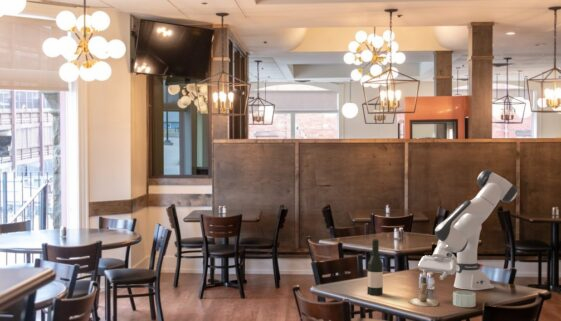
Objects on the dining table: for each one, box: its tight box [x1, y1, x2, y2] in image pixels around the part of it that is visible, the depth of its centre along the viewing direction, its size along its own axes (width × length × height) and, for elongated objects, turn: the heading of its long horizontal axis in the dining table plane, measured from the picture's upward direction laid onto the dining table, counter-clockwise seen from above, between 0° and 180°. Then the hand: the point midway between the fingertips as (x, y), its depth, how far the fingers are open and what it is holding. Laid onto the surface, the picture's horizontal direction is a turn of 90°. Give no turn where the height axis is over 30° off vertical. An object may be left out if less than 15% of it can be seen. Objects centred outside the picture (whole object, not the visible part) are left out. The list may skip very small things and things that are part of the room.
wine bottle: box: [366, 238, 384, 297], centre depth 368 cm, size 8×8×30 cm
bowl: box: [452, 290, 477, 308], centre depth 344 cm, size 11×11×6 cm
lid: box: [408, 283, 439, 308], centre depth 348 cm, size 15×15×10 cm
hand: (432, 278), depth 353 cm, fingers open, 8 cm apart
